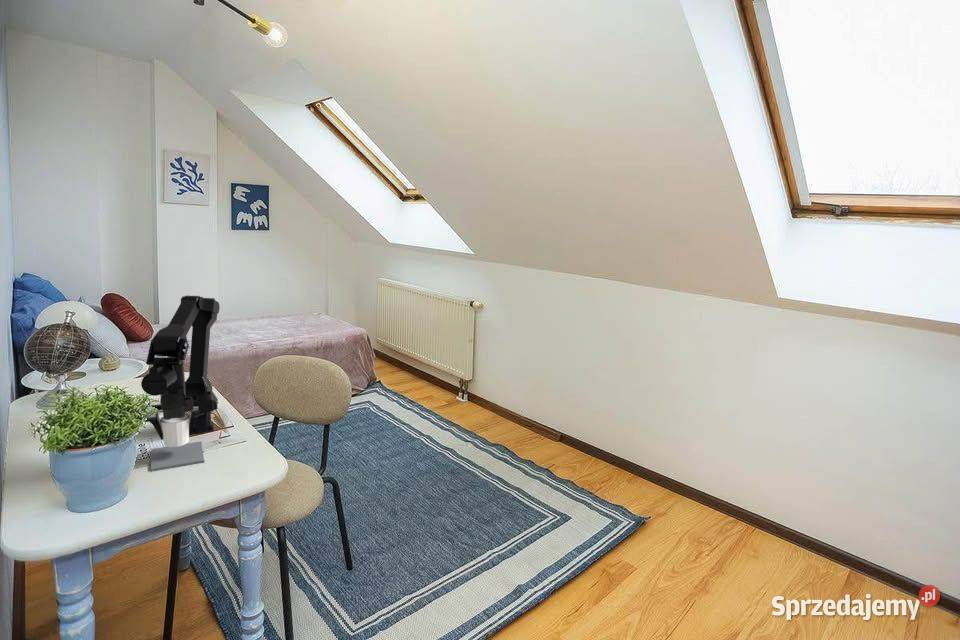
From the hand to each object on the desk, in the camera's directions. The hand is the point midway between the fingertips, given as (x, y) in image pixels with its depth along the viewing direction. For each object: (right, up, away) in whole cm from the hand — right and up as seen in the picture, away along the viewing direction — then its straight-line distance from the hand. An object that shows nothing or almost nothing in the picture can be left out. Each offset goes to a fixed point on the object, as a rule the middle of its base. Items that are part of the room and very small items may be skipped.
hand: (176, 437), depth 143 cm
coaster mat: (0, -5, +1) cm, 6 cm away
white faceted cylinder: (0, -2, 0) cm, 2 cm away
